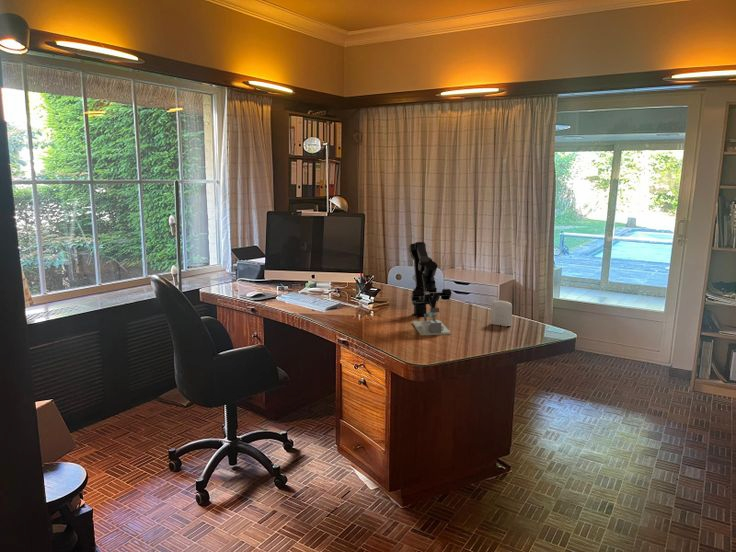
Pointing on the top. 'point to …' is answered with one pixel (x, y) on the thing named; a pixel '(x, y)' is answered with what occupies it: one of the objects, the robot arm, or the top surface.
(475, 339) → the top surface
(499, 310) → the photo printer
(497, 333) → the top surface
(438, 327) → the heatsink board
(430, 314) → the lever
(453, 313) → the top surface
